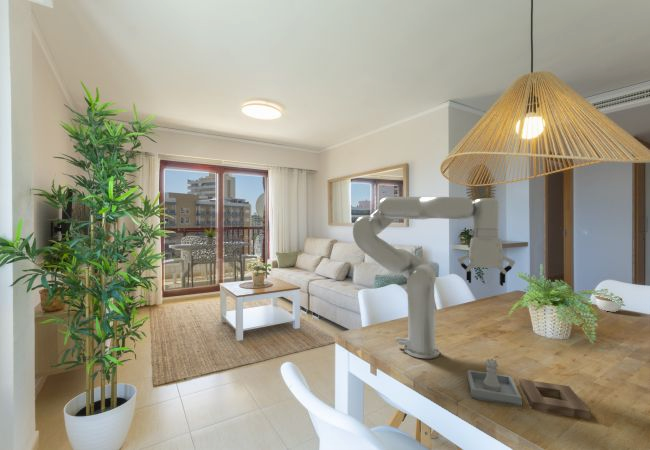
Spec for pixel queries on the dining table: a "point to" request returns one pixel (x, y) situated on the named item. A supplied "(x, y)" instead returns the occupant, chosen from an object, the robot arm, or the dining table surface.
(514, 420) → the dining table surface
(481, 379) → the tray
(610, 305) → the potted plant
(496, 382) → the rook chess piece
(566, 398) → the socket block
